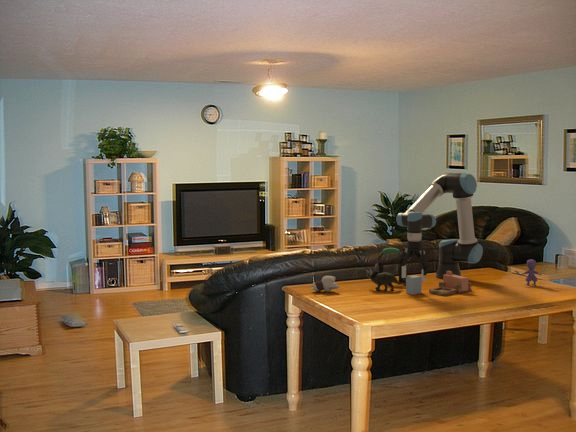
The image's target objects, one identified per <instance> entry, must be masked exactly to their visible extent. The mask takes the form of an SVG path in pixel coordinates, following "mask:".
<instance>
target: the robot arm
mask: <svg viewBox="0 0 576 432" xmlns="http://www.w3.org/2000/svg"><path fill="white" fill-rule="evenodd" d="M477 187H478V183H477V180H476V178H475V176H474V175H472V174H471V173H466V172H458V173H457V172H449V173H443V174H441V175H440V176H438V177H436V178H435V179H433V181H431V183H430V184H429V185H428V188H427V189H426V190H425V191H424V192H423V193H422V194H421V195H420V196H419V197H418V198H417V199H416V201H415V202H413V204H412V205H411V206H410V207H409V208H408V209H407V210H406V211H404V212H398V214H397V215H396V217H395V218H396V219H395V220H396V224H397V225H398V226H400V227H405V228H406V227H407V243H406V246H407V247H404V248H402V252H401V253H402V255H401V256H399V259H398V261H397V264H398V265H399V264H400V265H401V271H402V278H406V266H404V265H405V264H406V265H407V263H408V262H409V260H410V259H411V258H414V259H417V261H418V263H419V264H420V266H421V267H422V269H421V276H422V282H427V275H428V269H431V265H430V262H429V259H428V256H427V251H426V250H421V249H422V237H423V235H422V234H423V233H422V231H423V229H431V228H433V227H435V226H436V224H437V218H436V216H435V215H433V214H429V213H427V214H423V213H424V212H426V211H427V209H428V208H429V207H430V206H431V205H432V204H433V203H434V202H435V201H436V200H437V199H438V198H440V197H443V195H444V194H452V198H453V199H454V200H455V205H456V213H457V215H456V216H457V222H458V223H457V225H458V233H459V236H458V237H459V239H458V238H455V239H454V238H452V239H443V240H441V241H439V246H438V267H437V269H436V271H435V278H438V279H442V280H443V275H445V274H446V271H452V274H453V275H458V276H462V272H461V269H460V265H459V264H460V263H466V264H467V263H468V264H477V263H478V262H480V260H481V259H482V258H483V257H482V256H483V253H484V248H483V246H482V245H481V244H480V243H479V242H478V239H477V237H475V236H476V234H475V225H474V217H473V206H472V198H473V197H474V193H476V191H477ZM459 262H460V263H459Z"/></svg>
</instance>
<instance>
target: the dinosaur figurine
mask: <svg viewBox="0 0 576 432" xmlns="http://www.w3.org/2000/svg"><path fill="white" fill-rule="evenodd" d="M368 269H369V270H367V269H365V272H366V277H367V278H369V279H370V281H371V282H373V284H375V285H376V287H375V291H376V292H380V289H381V286H384V288H383V292H387V291H388V288H389V287H390V291H392V290H394V289H395V288H394V286H393V284H396V285H406V282H399V279H398V278H397V277H396V275H394V274H393V273H391V272H388V271H387V272H386V271H385V272H384V271H383V273H378V271H375V270H374V271H372V269H371V268H370V267H368ZM392 283H393V284H392ZM388 286H389V287H388Z"/></svg>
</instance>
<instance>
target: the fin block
mask: <svg viewBox="0 0 576 432" xmlns="http://www.w3.org/2000/svg"><path fill="white" fill-rule="evenodd" d="M422 282H423V281H422V275H421V276H420V275H415V274H414V275H407V277H406V281H405V293H406V294H408V295H417V294H422V290H423V289H422V287H423V286H422Z"/></svg>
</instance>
